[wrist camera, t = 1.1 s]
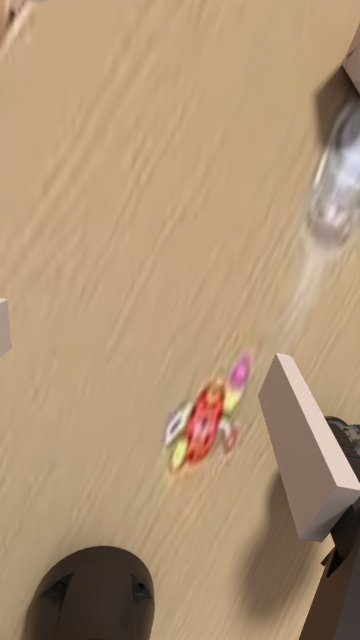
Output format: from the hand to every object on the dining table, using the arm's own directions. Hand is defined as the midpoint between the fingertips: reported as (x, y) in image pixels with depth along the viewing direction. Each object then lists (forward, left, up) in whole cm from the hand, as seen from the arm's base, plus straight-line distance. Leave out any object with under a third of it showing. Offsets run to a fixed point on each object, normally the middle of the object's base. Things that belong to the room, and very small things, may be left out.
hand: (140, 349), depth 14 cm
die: (+38, -23, -21) cm, 50 cm away
